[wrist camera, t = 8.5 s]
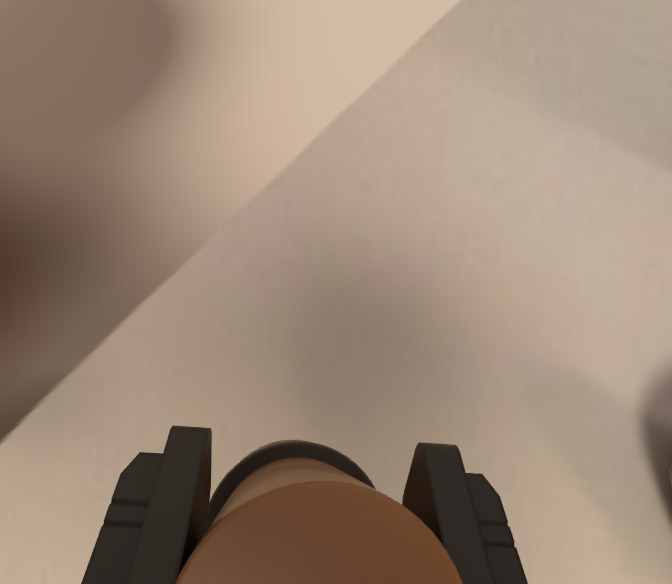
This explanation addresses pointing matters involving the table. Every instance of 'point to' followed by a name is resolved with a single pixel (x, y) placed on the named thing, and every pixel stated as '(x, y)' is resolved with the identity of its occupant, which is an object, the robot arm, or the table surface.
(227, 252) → the table surface
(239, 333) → the table surface
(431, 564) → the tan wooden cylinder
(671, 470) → the gaming controller
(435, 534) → the robot arm
